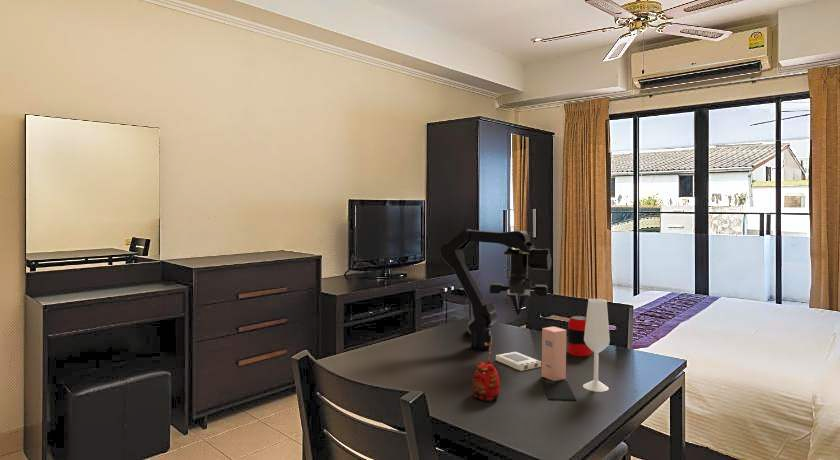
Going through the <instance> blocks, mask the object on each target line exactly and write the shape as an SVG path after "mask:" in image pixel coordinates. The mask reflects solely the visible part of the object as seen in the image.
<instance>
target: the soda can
mask: <svg viewBox="0 0 840 460" xmlns="http://www.w3.org/2000/svg"><path fill="white" fill-rule="evenodd" d="M585 324H586V316H581V315H578V316H577V315H575V316H571V317H570V319H569V320H568V321H567V353H568V354H569V355H570V356H575V357H583V358H584V357H589V356H590V355H591V354H592V350H591V349H590V348H589V347H588V346H587V345H586V344H585V342H584V333H585Z"/></svg>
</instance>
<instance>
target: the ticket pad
mask: <svg viewBox="0 0 840 460" xmlns="http://www.w3.org/2000/svg"><path fill="white" fill-rule="evenodd" d="M495 361H497V362H499V363H501V364H505V365H507V366H509V367H511V368H513V369H516V370H518V371H522V372H523V371H526V370H527V371H528V370H531V369H536V368H542V360H538V359H535V358H532V357H530V356H528V355H525V354H524V353H523V354H522V353H520V352H518V351H512V352H507V353H502V354H501V353H500V354H496V355H495Z"/></svg>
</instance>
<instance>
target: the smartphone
mask: <svg viewBox="0 0 840 460" xmlns="http://www.w3.org/2000/svg"><path fill="white" fill-rule="evenodd" d="M541 384H542V387H543V389H544V392H545V395H546V398H547V400H548V401H565V402H577V398H576V396H575V394H574V392H573V390H572V389H571V386H570V384H569V383H568V380H566V379H562V380H557V381H553V380H550V379H541Z"/></svg>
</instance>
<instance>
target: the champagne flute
mask: <svg viewBox="0 0 840 460" xmlns="http://www.w3.org/2000/svg"><path fill="white" fill-rule="evenodd" d="M587 300H588V301H587V306H586V307H587V308H586V316H585V317H586V324H585V333H584V342H585V344H586V345H587V346H588V347H589V348H590V349H591V352H593V356H594V357H593V380H591V381H589V382H586V383H584V384H583V385H582V387H583V388H584V389H586V390H587V391H591V392H597V393H600V392H601V393H602V392H606V391H609V387H608V386H607V385H606V384H604V383H602V382H601V381H600V380H599V360H600V359H599V355H600V353H601V352H602V351H604V350H605V349H607V347H609V345H610V344H611V343H610V342H611V339H610V326H609V324H610V323H609V314H608V311H609V310H608V301H607V300H606V299H602V298H589V299H587Z"/></svg>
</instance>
